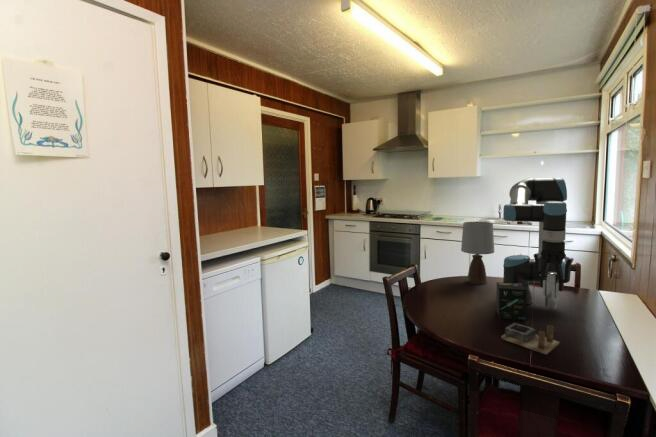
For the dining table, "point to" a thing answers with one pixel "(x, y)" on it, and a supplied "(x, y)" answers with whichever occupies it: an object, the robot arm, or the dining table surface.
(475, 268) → the lamp
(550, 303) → the pin
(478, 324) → the dining table surface
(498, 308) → the tampon box
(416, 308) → the dining table surface
